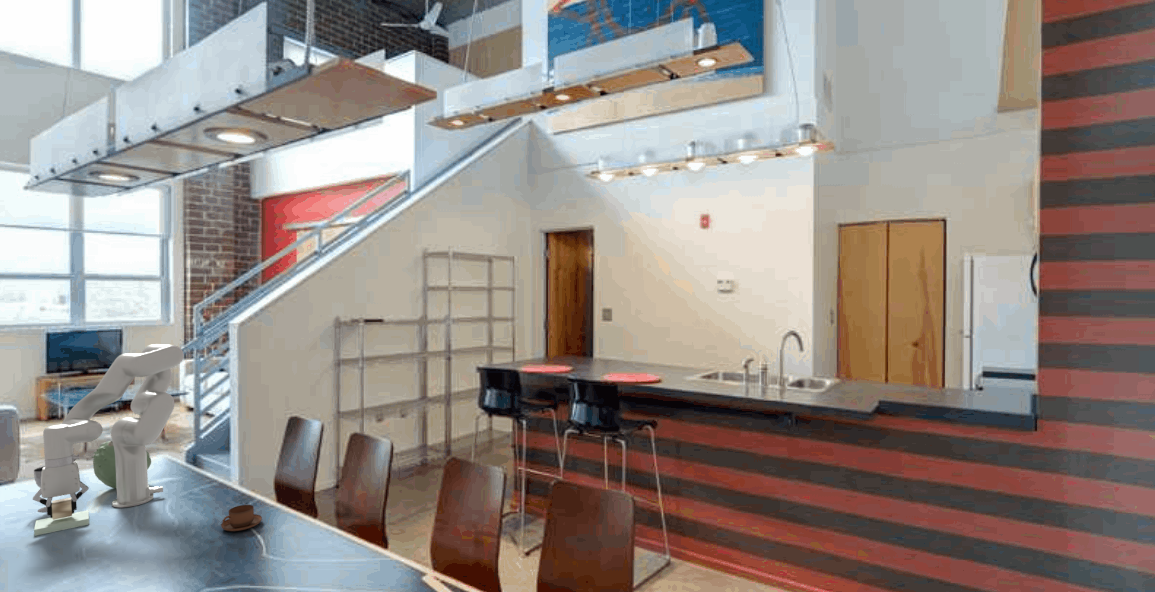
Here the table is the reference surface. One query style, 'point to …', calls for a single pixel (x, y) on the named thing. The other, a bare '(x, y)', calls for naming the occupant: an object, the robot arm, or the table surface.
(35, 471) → the wine glass
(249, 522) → the cup and saucer
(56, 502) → the birch cube
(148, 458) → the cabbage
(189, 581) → the table surface
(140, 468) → the robot arm
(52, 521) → the sage board
